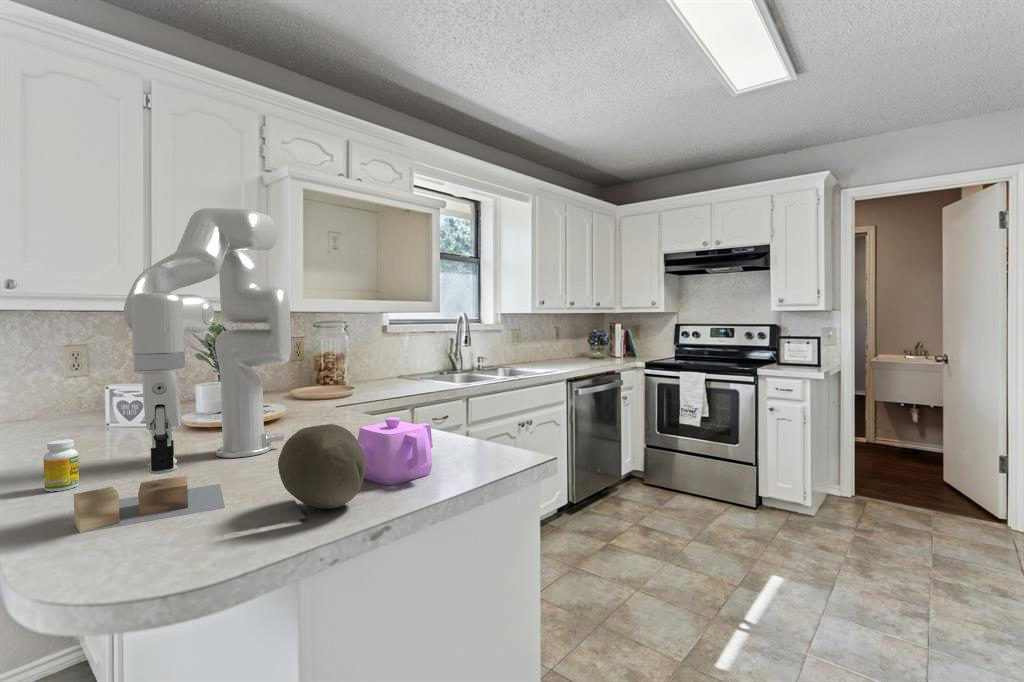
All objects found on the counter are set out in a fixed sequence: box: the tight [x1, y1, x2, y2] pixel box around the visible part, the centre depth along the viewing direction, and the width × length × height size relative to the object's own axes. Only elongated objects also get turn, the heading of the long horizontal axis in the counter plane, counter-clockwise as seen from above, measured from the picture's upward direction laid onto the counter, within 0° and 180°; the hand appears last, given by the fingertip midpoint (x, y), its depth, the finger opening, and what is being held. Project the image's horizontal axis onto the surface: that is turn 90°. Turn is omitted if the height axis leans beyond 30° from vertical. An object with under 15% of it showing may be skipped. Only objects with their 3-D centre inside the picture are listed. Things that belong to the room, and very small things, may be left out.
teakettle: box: [357, 416, 434, 486], centre depth 113 cm, size 17×17×12 cm
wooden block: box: [137, 475, 189, 516], centre depth 92 cm, size 7×7×4 cm
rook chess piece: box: [147, 425, 179, 475], centre depth 92 cm, size 4×4×8 cm
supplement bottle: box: [43, 438, 80, 493], centre depth 106 cm, size 5×5×10 cm
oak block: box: [73, 486, 120, 534], centre depth 84 cm, size 5×5×5 cm
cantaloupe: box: [277, 423, 366, 510], centre depth 92 cm, size 14×14×15 cm
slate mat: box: [78, 483, 226, 534], centre depth 93 cm, size 20×16×1 cm
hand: (163, 465), depth 92 cm, fingers closed on rook chess piece, 4 cm apart
